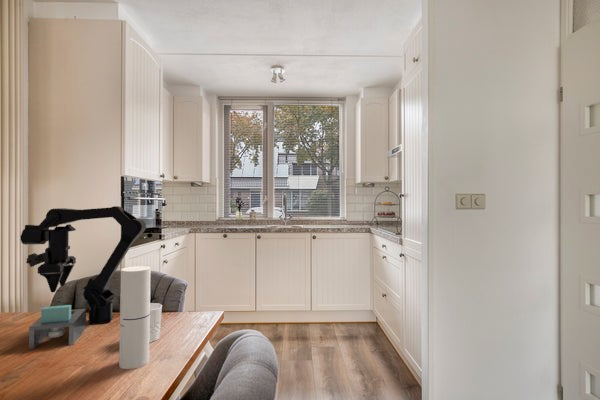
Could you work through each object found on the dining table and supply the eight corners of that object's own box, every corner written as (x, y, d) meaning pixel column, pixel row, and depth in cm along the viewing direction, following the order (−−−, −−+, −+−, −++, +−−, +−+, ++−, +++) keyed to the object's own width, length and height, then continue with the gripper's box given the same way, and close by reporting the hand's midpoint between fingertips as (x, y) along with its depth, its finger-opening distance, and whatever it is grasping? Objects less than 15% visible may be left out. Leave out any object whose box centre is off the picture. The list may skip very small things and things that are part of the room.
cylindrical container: (137, 370, 86) (138, 272, 86) (112, 367, 87) (114, 270, 87) (154, 358, 93) (156, 266, 93) (131, 355, 94) (133, 265, 94)
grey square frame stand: (46, 331, 110) (47, 311, 110) (85, 328, 114) (86, 308, 114) (28, 349, 97) (29, 326, 97) (73, 344, 101) (73, 322, 101)
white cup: (128, 340, 104) (128, 308, 104) (150, 332, 111) (150, 301, 111) (145, 346, 100) (146, 312, 100) (167, 336, 107) (167, 305, 107)
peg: (71, 331, 106) (72, 304, 106) (67, 336, 102) (68, 307, 102) (44, 334, 103) (45, 306, 103) (39, 339, 99) (40, 310, 100)
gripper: (41, 241, 124) (40, 284, 124) (18, 248, 106) (17, 298, 106) (76, 241, 128) (75, 282, 128) (60, 247, 110) (59, 295, 110)
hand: (57, 288), depth 118 cm, fingers open, 9 cm apart
